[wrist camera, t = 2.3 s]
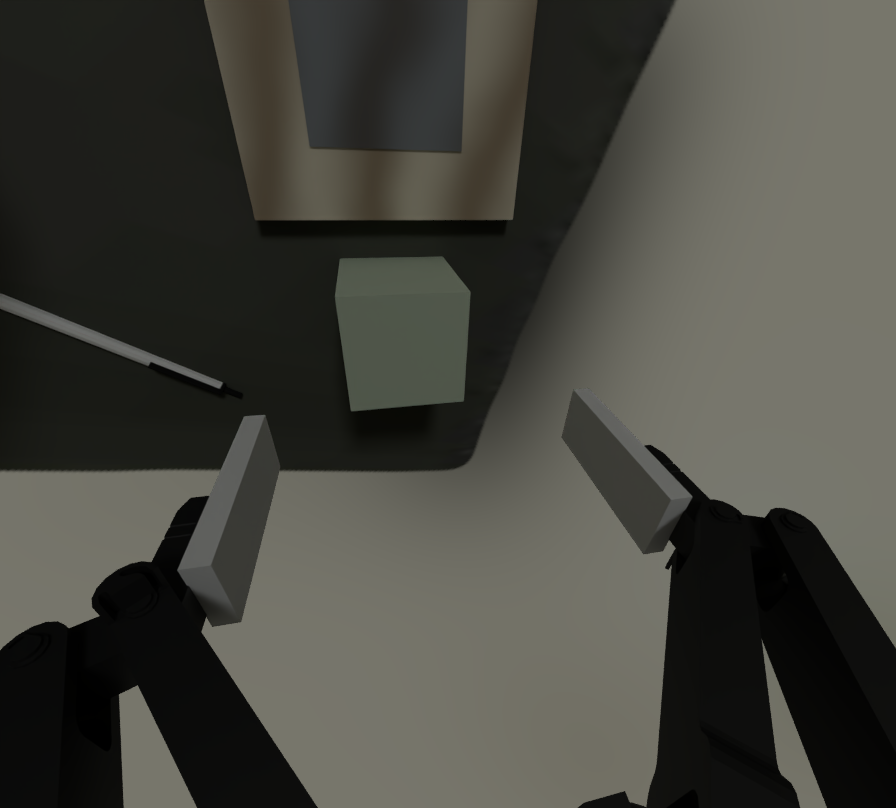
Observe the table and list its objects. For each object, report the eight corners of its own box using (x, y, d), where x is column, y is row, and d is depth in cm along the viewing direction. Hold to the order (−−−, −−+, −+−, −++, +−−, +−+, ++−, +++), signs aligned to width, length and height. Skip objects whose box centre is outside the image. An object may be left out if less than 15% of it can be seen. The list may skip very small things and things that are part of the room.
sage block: (351, 352, 29) (350, 411, 23) (340, 258, 25) (334, 296, 19) (440, 347, 31) (463, 401, 24) (442, 256, 27) (470, 292, 20)
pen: (240, 397, 30) (236, 404, 29) (-122, 255, 21) (-143, 259, 20) (244, 388, 30) (241, 395, 29) (-120, 241, 21) (-142, 244, 20)
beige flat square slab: (258, 217, 23) (254, 220, 22) (151, -254, 14) (138, -280, 13) (507, 217, 26) (513, 220, 25) (549, -174, 17) (559, -192, 16)
